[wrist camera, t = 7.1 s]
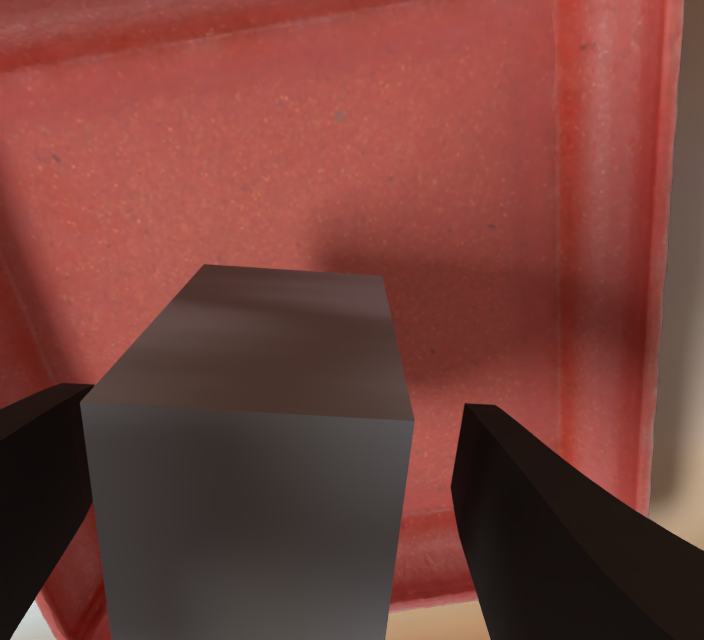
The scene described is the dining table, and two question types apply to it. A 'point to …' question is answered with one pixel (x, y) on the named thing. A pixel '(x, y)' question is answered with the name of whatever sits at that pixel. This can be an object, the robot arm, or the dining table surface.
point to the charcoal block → (253, 461)
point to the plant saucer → (353, 212)
